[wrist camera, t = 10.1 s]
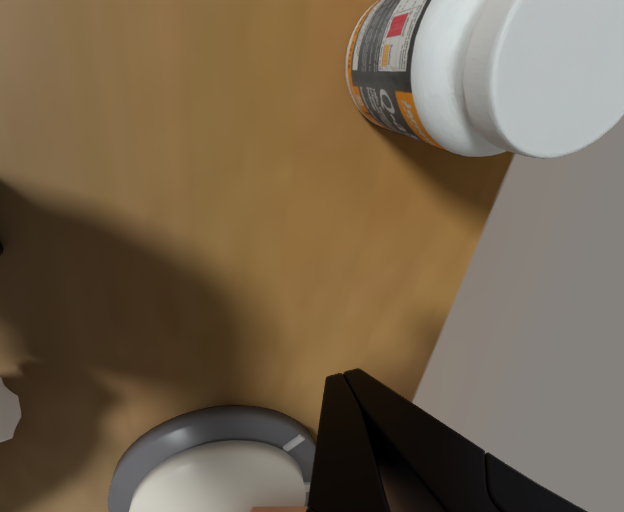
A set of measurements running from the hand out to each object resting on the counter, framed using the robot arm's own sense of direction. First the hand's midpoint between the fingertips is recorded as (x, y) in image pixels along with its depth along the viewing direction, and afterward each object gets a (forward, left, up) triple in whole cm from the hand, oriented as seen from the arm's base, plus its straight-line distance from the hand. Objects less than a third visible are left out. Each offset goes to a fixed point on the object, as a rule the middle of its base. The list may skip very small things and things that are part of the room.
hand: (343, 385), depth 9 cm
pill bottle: (+7, +6, -12) cm, 15 cm away
